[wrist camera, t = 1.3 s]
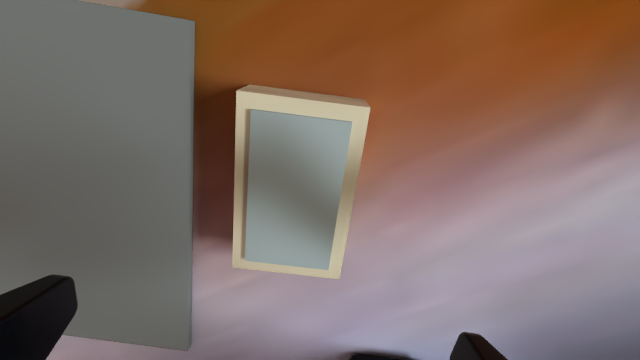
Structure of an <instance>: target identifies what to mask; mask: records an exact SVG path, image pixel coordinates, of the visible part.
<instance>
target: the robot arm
mask: <svg viewBox="0 0 640 360" xmlns="http://www.w3.org/2000/svg"><path fill="white" fill-rule="evenodd" d="M77 308H78V301H77V295H76V288H75V282H74V280H73V278H72V277H70V276H64V275H56V274H52V275H48V276H46V277H43V278H41V279H38V280H36V281H33V282H31V283H28V284H26V285H23V286H21V287H18V288H16V289H13V290H11V291H8V292H6V293H3V294H1V295H0V360H46V358H47V357H48V355H49V354H50V352H51V351H52V349H53V348H54V346H55V345H56V343H57V342H58V340H59V339H60V337H61V336H62V334H63V333H64V331H65V329H66V328H67V326H68V325H69V323H70V322H71V320H72V319H73V317H74V316H75V314H76V311H77ZM350 360H397V359H390V358H382V357H375V356H367V355H354V356H352V357H351V359H350ZM450 360H508V359H506V358H505V357H504V356H503V355H502V354H501V353H500V352H499V351H498V350H497V349H496V348H494V347H493V346H492V345H491V344H490V343H489V342H488V341H487V340H486V339H485V338H484V337H482V336H481V335H479V334H475V333H468V332H462V333H461V334H460V335H459V337H458V339H457V341H456V344H455V346H454V348H453V351H452V353H451V355H450Z"/></svg>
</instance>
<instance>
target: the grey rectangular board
mask: <svg viewBox="0 0 640 360" xmlns="http://www.w3.org/2000/svg"><path fill="white" fill-rule="evenodd" d="M194 54H195V21H191V20H186V19H180V18H175V17H169V16H163V15H158V14H152V13H146V12H140V11H135V10H129V9H123V8H118V7H112V6H106V5H101V4H95V3H89V2H83V1H78V0H0V295H1V294H3V293H6V292H8V291H11V290H13V289H16V288H18V287H21V286H23V285H26V284H28V283H31V282H33V281H36V280H38V279H41V278H43V277H46V276H48V275H52V274H56V275H64V276H70V277H72V278H73V280H74V282H75V288H76V295H77V301H78V308H77V311H76V314H75V316H74V317H73V319H72V320H71V322H70V323H69V325H68V326H67V328H66V329H65V331H64V333H63V334H62V335H69V336H76V337H84V338H91V339H99V340H107V341H114V342H122V343H129V344H137V345H145V346H152V347H160V348H167V349H175V350H183V351H188V350H189V348H190V345H191V314H192V228H193V141H194Z"/></svg>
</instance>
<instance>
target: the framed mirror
mask: <svg viewBox="0 0 640 360" xmlns="http://www.w3.org/2000/svg"><path fill="white" fill-rule="evenodd" d="M369 113H370V106H369V105H368V104H367V102H366V101H365V100H364V99H358V98H351V97H343V96H335V95H327V94H320V93H312V92H304V91H296V90H288V89H281V88H273V87H265V86H257V85H247V86H245V87H243V88H241V89H239V90H236V128H235V173H234V218H233V264H232V267H233V268H242V269H251V270H260V271H269V272H278V273H287V274H296V275H305V276H314V277H323V278H332V279H340V273H341V268H342V262H343V257H344V251H345V246H346V240H347V235H348V229H349V224H350V218H351V212H352V207H353V201H354V196H355V190H356V185H357V179H358V174H359V168H360V163H361V157H362V152H363V146H364V141H365V135H366V129H367V124H368V118H369Z"/></svg>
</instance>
